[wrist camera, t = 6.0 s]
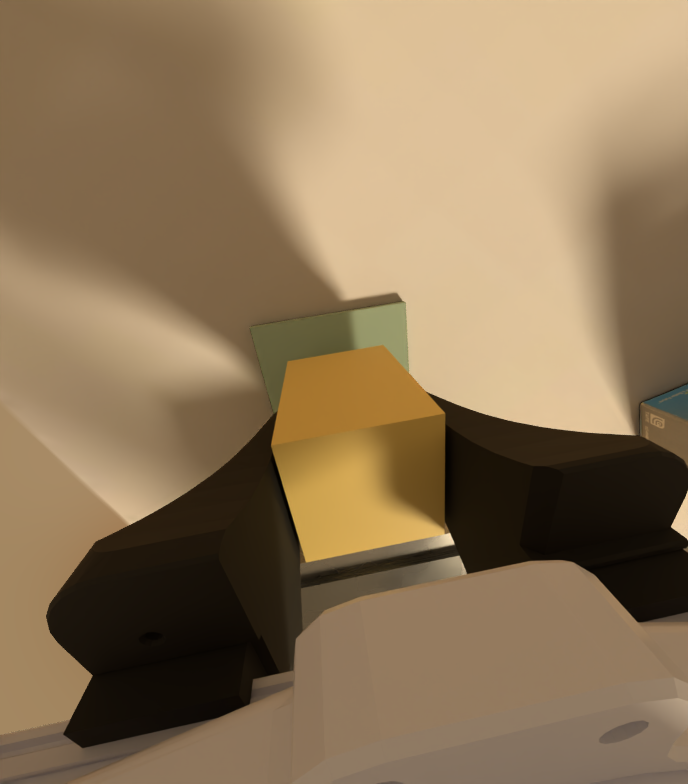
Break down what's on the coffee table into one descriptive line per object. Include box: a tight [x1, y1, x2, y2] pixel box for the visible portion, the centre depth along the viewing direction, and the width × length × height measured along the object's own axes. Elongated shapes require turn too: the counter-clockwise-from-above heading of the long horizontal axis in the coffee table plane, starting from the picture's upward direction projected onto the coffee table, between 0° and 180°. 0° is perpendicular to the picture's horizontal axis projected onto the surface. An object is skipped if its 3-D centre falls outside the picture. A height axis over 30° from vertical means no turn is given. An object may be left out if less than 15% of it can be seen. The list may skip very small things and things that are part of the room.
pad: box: [250, 301, 409, 413], centre depth 15 cm, size 7×7×1 cm
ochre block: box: [271, 345, 445, 562], centre depth 10 cm, size 4×4×6 cm
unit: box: [300, 523, 467, 631], centre depth 15 cm, size 7×9×6 cm
